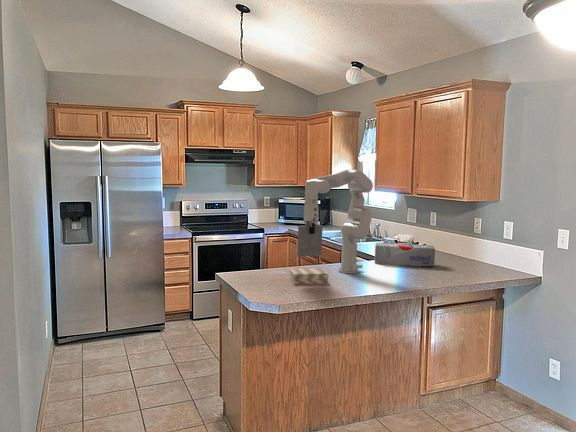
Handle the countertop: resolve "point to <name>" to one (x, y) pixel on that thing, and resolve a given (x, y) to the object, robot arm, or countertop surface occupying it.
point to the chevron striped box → (308, 276)
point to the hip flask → (309, 241)
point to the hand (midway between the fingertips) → (310, 232)
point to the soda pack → (404, 254)
